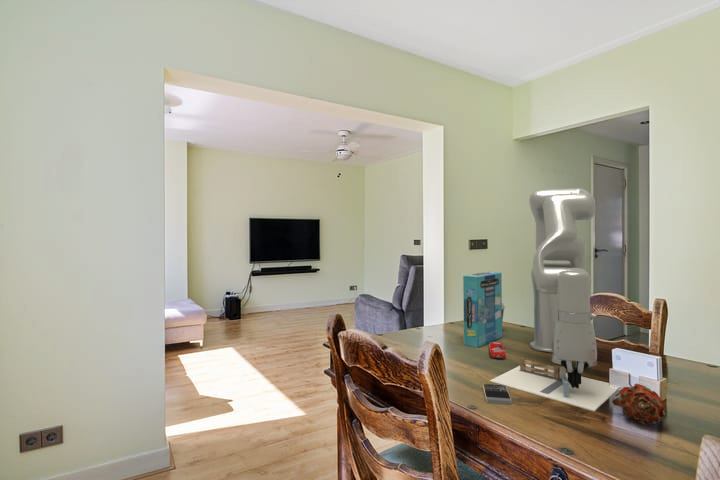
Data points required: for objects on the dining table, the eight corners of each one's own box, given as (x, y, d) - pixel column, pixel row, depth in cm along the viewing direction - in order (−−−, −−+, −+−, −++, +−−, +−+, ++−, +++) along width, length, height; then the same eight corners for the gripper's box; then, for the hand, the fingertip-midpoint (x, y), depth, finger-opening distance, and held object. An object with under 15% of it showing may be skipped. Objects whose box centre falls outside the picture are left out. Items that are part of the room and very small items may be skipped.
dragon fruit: (653, 441, 81) (623, 423, 93) (687, 418, 81) (652, 402, 93) (625, 406, 83) (598, 392, 95) (657, 383, 83) (626, 372, 95)
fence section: (520, 371, 120) (520, 358, 120) (522, 370, 121) (521, 357, 121) (558, 381, 112) (558, 367, 112) (559, 379, 113) (559, 366, 113)
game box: (488, 335, 165) (487, 271, 165) (502, 337, 160) (502, 272, 160) (463, 344, 150) (462, 275, 150) (478, 348, 146) (477, 276, 146)
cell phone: (505, 390, 107) (505, 384, 107) (512, 407, 96) (512, 401, 96) (482, 388, 108) (482, 383, 108) (486, 405, 98) (486, 399, 98)
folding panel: (560, 377, 112) (560, 366, 112) (565, 378, 112) (565, 366, 112) (563, 395, 100) (563, 382, 100) (569, 396, 99) (569, 383, 99)
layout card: (524, 364, 127) (524, 363, 127) (621, 386, 107) (621, 385, 107) (489, 381, 112) (489, 380, 112) (594, 411, 92) (594, 410, 92)
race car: (506, 361, 131) (506, 349, 131) (489, 360, 133) (489, 348, 132) (503, 350, 144) (503, 339, 144) (488, 349, 145) (488, 338, 145)
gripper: (602, 316, 104) (602, 384, 104) (541, 313, 109) (541, 378, 109) (610, 322, 97) (610, 395, 97) (544, 318, 102) (545, 388, 102)
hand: (574, 386), depth 103 cm, fingers closed
